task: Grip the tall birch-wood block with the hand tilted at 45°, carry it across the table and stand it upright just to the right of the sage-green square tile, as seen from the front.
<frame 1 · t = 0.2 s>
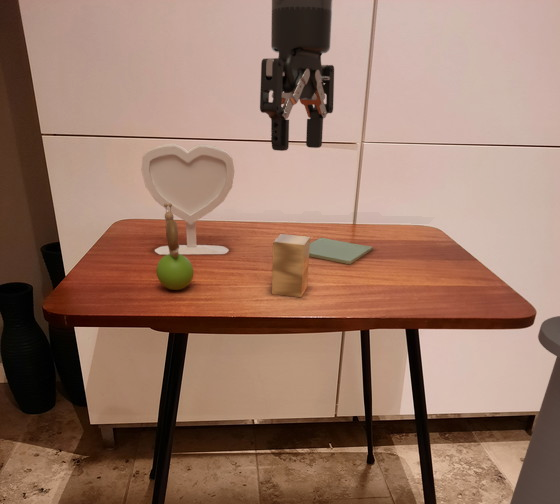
hand: (297, 148, 75), 20 cm above the table, tool pointing down, fingers open, 8 cm apart
birch block: (289, 290, 84), on the table
green ball with handle: (175, 289, 83), on the table
heart sculpture: (192, 251, 101), on the table
square tile: (334, 251, 103), on the table
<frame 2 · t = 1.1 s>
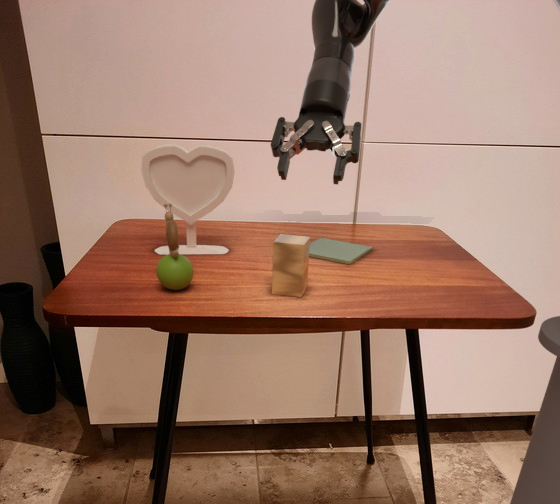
hand: (309, 179, 86), 15 cm above the table, tool tilted 45°, fingers open, 8 cm apart
nothing on the table moved.
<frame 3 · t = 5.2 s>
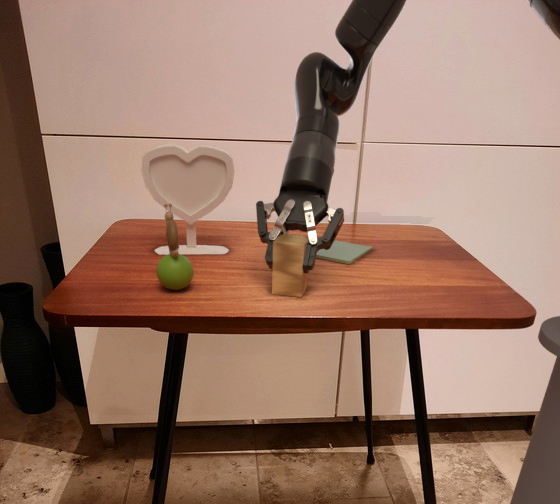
hand: (288, 268, 80), 4 cm above the table, tool tilted 45°, fingers closed on birch block, 4 cm apart
birch block: (289, 290, 84), on the table, touching gripper
everything else where it was.
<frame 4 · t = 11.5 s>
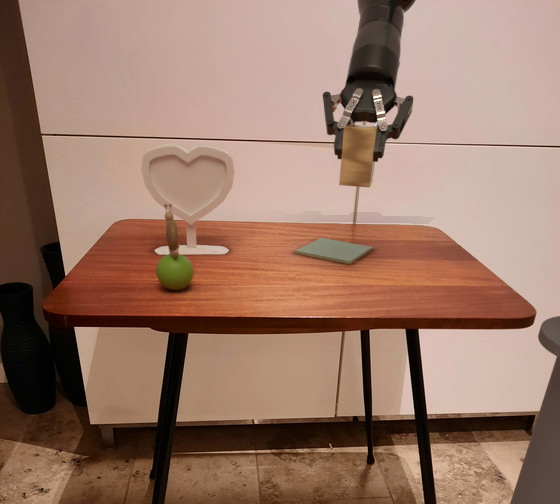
hand: (357, 156, 79), 19 cm above the table, tool tilted 45°, fingers closed on birch block, 4 cm apart
birch block: (356, 183, 83), point 15 cm above the table, touching gripper
everything else where it was.
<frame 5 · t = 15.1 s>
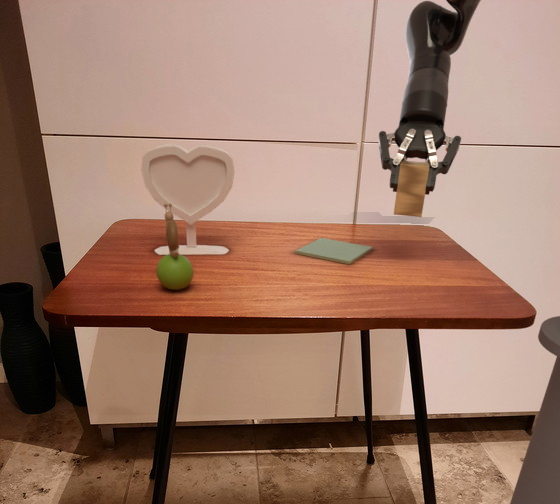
hand: (411, 190, 89), 13 cm above the table, tool tilted 45°, fingers closed on birch block, 4 cm apart
birch block: (407, 212, 93), point 9 cm above the table, touching gripper
everything else where it was.
when the fingers open (4 cm above the table, at t = 18.0 s): birch block stays where it is, on the table.
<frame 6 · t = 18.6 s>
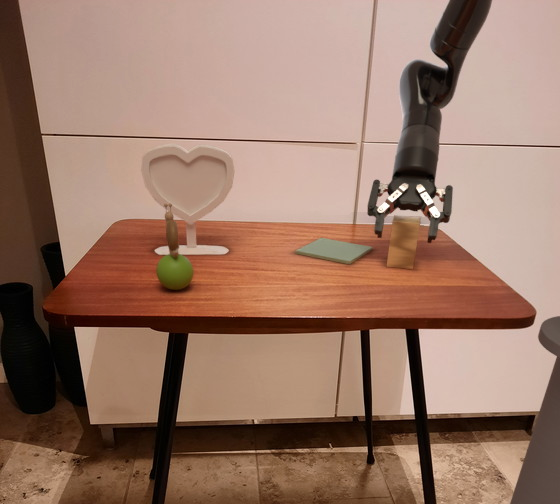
hand: (404, 238, 94), 5 cm above the table, tool tilted 45°, fingers open, 8 cm apart
birch block: (400, 264, 97), on the table
everything else where it was.
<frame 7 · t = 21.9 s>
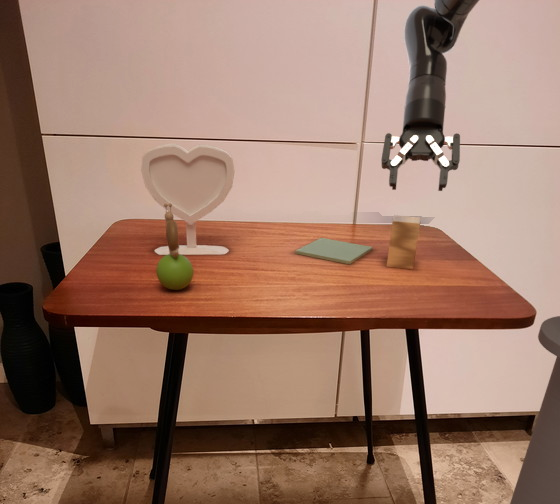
hand: (417, 188, 102), 11 cm above the table, tool tilted 35°, fingers open, 8 cm apart
nothing on the table moved.
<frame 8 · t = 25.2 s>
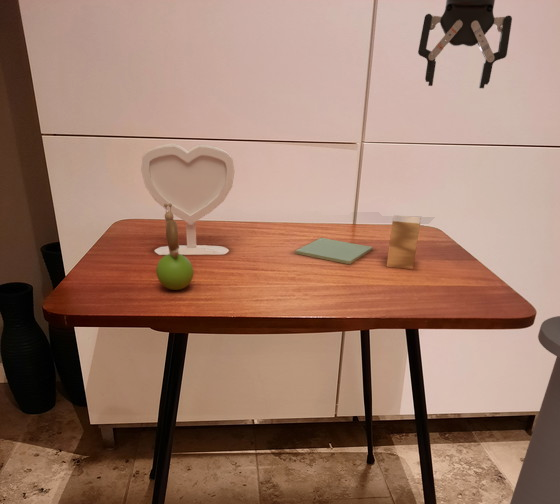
hand: (455, 87, 94), 28 cm above the table, tool pointing down, fingers open, 8 cm apart
nothing on the table moved.
at the end: birch block inside the target area on the table beside the square tile (0.4 cm from its centre), on the table; birch block tilted 0°; the gripper is holding nothing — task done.
